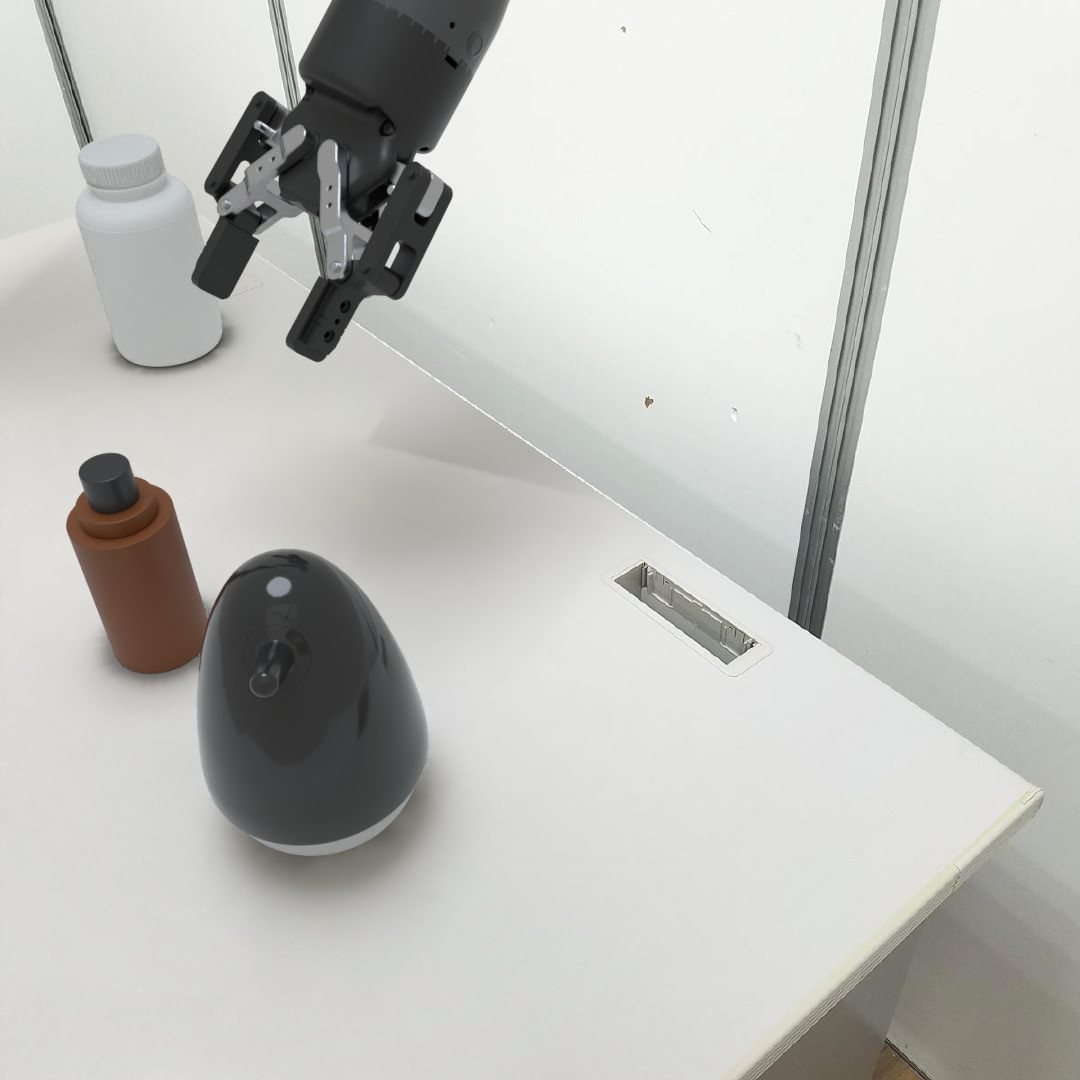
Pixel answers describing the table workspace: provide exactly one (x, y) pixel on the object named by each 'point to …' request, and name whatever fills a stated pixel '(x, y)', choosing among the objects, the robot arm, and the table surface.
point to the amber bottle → (136, 566)
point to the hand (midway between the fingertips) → (253, 322)
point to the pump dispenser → (306, 708)
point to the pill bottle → (145, 252)
